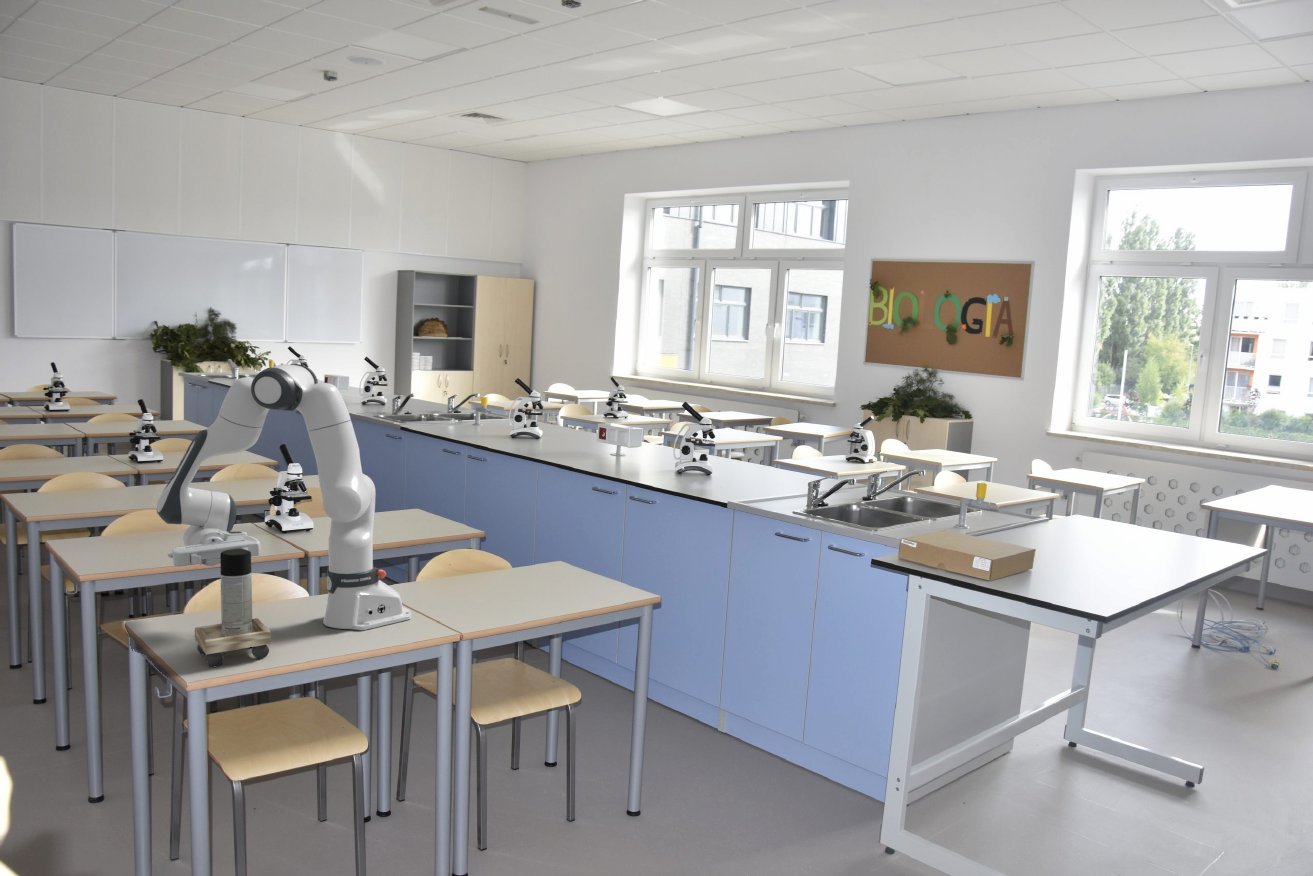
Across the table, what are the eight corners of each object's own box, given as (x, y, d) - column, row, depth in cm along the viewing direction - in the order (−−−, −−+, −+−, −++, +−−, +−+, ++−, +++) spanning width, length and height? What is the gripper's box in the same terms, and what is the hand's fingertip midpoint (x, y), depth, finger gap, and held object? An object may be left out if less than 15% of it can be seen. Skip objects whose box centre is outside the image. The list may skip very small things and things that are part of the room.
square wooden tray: (258, 643, 232) (257, 618, 231) (271, 658, 223) (270, 631, 222) (195, 654, 224) (194, 627, 223) (206, 669, 214) (205, 641, 214)
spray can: (244, 628, 228) (242, 547, 226) (258, 634, 224) (256, 551, 221) (216, 634, 223) (214, 551, 221) (230, 641, 219) (228, 556, 216)
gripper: (165, 541, 237) (176, 551, 226) (251, 530, 249) (266, 540, 238) (166, 565, 238) (177, 577, 227) (252, 554, 250) (267, 564, 239)
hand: (223, 558), depth 232 cm, fingers open, 8 cm apart
